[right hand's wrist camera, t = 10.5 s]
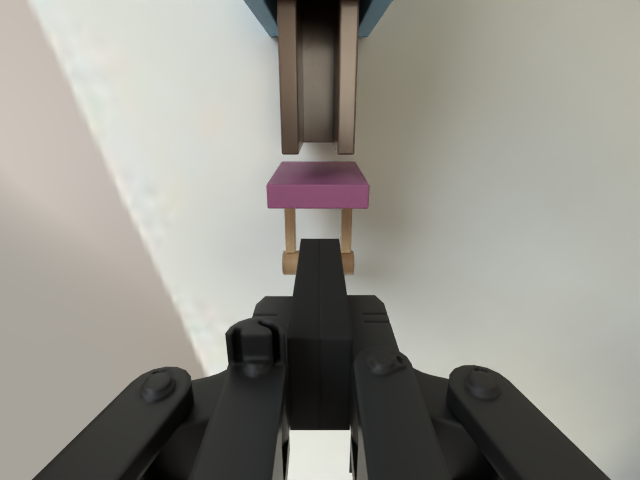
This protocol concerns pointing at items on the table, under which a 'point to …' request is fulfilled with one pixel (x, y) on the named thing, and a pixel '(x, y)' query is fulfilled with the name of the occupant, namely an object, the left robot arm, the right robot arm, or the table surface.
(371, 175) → the table surface
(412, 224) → the table surface
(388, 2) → the cabinet
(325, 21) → the drawer
